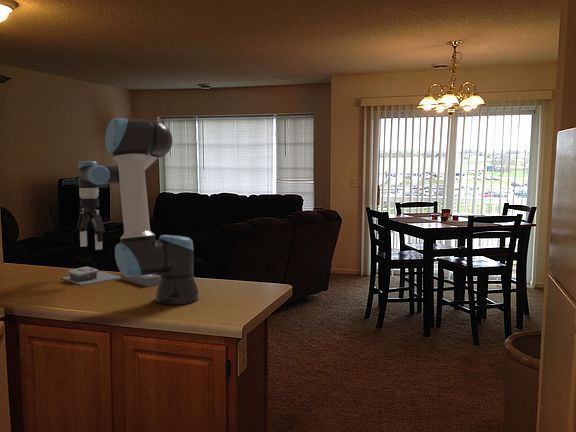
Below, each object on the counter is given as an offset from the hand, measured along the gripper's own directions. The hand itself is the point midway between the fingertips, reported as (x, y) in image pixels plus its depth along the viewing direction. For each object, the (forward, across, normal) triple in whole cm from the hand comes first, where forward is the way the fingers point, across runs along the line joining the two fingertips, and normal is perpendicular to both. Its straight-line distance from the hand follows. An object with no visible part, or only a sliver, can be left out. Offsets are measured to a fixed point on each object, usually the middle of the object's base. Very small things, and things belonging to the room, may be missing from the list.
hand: (91, 248), depth 214 cm
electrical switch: (+13, +1, 0) cm, 13 cm away
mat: (+13, +1, 0) cm, 13 cm away
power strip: (+14, -19, -11) cm, 26 cm away
